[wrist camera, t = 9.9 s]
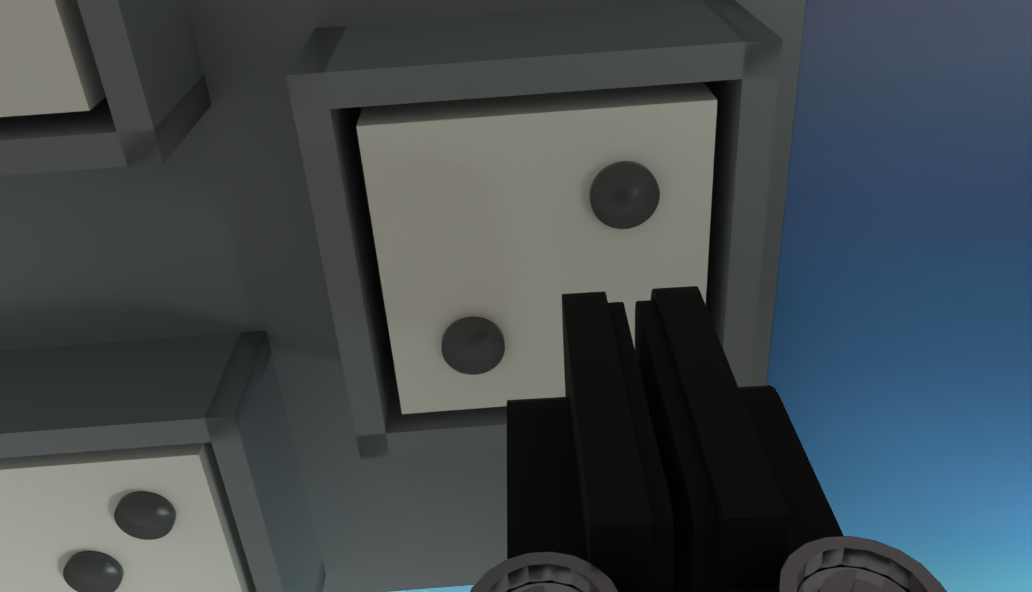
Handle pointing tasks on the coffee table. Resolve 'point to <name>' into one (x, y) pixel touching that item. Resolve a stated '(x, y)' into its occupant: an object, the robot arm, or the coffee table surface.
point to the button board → (327, 252)
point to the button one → (46, 59)
